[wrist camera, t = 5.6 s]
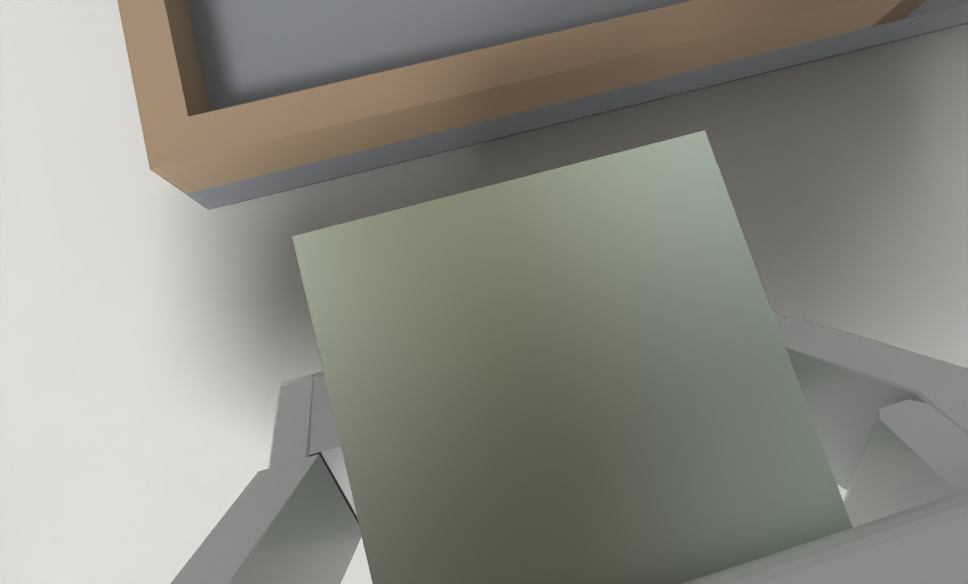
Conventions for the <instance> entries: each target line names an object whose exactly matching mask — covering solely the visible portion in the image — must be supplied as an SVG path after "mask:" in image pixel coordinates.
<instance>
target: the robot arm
mask: <svg viewBox="0 0 968 584" xmlns="http://www.w3.org/2000/svg"><path fill="white" fill-rule="evenodd" d="M771 309H772V308H771ZM772 312H773V315H774V317H775V320H776V323H777V325H778V328H779V331H780V333H781V336H782V339H783V342H784V344H785V347H786V350H787V352H788V355H789V358H790V360H791V363H792V366H793V368H794V371H795V374H796V376H797V379H798V382H799V385H800V387H801V390H802V393H803V395H804V398H805V401H806V403H807V406H808V409H809V411H810V414H811V417H812V419H813V422H814V425H815V428H816V430H817V433H818V436H819V438H820V441H821V444H822V446H823V449H824V452H825V454H826V457H827V460H828V462H829V465H830V468H831V471H832V473H833V476H834V479H835V481H836V484H838V485H840V486H841V487H843V488H845V489H846V490H847V493H846V495H845V498H844V500H843V503H844V505H845V508H846V511H847V514H848V516H849V519H850V522H851V524H852V527H853V528H850V529H847V530H844V531H840V532H837V533H834V534H831V535H828V536H825V537H822V538H819V539H816V540H813V541H810V542H807V543H804V544H801V545H798V546H795V547H792V548H789V549H786V550H783V551H780V552H777V553H773V554H770V555H767V556H764V557H761V558H758V559H755V560H752V561H749V562H746V563H743V564H740V565H737V566H734V567H731V568H728V569H725V570H722V571H719V572H716V573H713V574H710V575H706V576H703V577H700V578H697V579H694V580H691V581H688V582H685V583H682V584H968V369H967V368H964V367H960V366H957V365H954V364H951V363H947V362H944V361H941V360H937V359H934V358H931V357H927V356H924V355H921V354H917V353H914V352H911V351H907V350H904V349H901V348H897V347H894V346H891V345H887V344H884V343H881V342H877V341H874V340H871V339H867V338H864V337H861V336H857V335H854V334H851V333H847V332H844V331H841V330H837V329H834V328H831V327H827V326H824V325H821V324H817V323H814V322H811V321H807V320H804V319H801V318H797V317H794V316H791V317H787V318H784V319H783V318H782V317H781V316H780V315H779V314H777V313H776V312H775V311H774V310H773V309H772ZM361 536H362V535H361V531H360V527H359V522H358V518H357V514H356V509H355V505H354V501H353V496H352V492H351V488H350V484H349V479H348V475H347V471H346V466H345V462H344V458H343V454H342V449H341V445H340V441H339V436H338V432H337V428H336V424H335V419H334V415H333V411H332V406H331V402H330V398H329V393H328V389H327V385H326V381H325V376H324V372H319V373H316V374H314V375H309V376H305V377H301V378H298V379H294V380H290V381H286V382H284V383H283V384H282V386H281V387H280V389H279V393H278V400H277V408H276V415H275V423H274V430H273V438H272V445H271V453H270V460H269V468H268V469H266V470H262V471H259V472H258V473H257V474H256V475H255V476H254V478H253V479H252V480H251V482H250V483H249V484H248V485H247V487H246V488H245V489H244V490H243V492H242V493H241V494H240V496H239V497H238V498H237V499H236V501H235V502H234V503H233V505H232V506H231V507H230V508H229V510H228V511H227V512H226V513H225V515H224V516H223V517H222V519H221V520H220V521H219V522H218V524H217V525H216V526H215V528H214V529H213V530H212V531H211V533H210V534H209V535H208V536H207V538H206V539H205V540H204V542H203V543H202V544H201V545H200V547H199V548H198V549H197V551H196V552H195V553H194V554H193V556H192V557H191V558H190V559H189V561H188V562H187V563H186V565H185V566H184V567H183V568H182V570H181V571H180V572H179V574H178V575H177V576H176V577H175V579H174V580H173V581H172V582H171V584H340V583H341V581H342V579H343V577H344V574H345V572H346V570H347V568H348V565H349V563H350V561H351V559H352V556H353V554H354V552H355V550H356V548H357V545H358V543H359V541H360V539H361Z"/></svg>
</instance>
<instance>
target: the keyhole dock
mask: <svg viewBox="0 0 968 584" xmlns="http://www.w3.org/2000/svg"><path fill="white" fill-rule="evenodd" d="M118 5H119V10H120V16H121V21H122V26H123V31H124V36H125V42H126V47H127V52H128V57H129V62H130V68H131V73H132V78H133V83H134V88H135V94H136V99H137V104H138V109H139V114H140V120H141V125H142V130H143V135H144V140H145V146H146V151H147V156H148V161H149V166H150V170H152V171H153V172H155V173H156V174H158V175H159V176H161V177H162V178H163V179H165V180H166V181H168V182H169V183H171V184H172V185H174V186H175V187H176V188H178V189H179V190H181V191H182V192H184V193H185V194H187V195H188V196H189V197H191V198H192V199H194V200H195V201H197V202H198V203H200V204H201V205H202V206H204V207H205V208H207V209H212V208H216V207H220V206H224V205H229V204H233V203H237V202H241V201H245V200H249V199H253V198H257V197H261V196H265V195H269V194H273V193H277V192H281V191H286V190H290V189H294V188H298V187H302V186H306V185H310V184H314V183H318V182H322V181H326V180H330V179H334V178H338V177H342V176H347V175H351V174H355V173H359V172H363V171H367V170H371V169H375V168H379V167H383V166H387V165H391V164H395V163H399V162H403V161H408V160H412V159H416V158H420V157H424V156H428V155H432V154H436V153H440V152H444V151H448V150H452V149H456V148H460V147H464V146H469V145H473V144H477V143H481V142H485V141H489V140H493V139H497V138H501V137H505V136H509V135H513V134H517V133H521V132H526V131H530V130H534V129H538V128H542V127H546V126H550V125H554V124H558V123H562V122H566V121H570V120H574V119H578V118H582V117H587V116H591V115H595V114H599V113H603V112H607V111H611V110H615V109H619V108H623V107H627V106H631V105H635V104H639V103H643V102H648V101H652V100H656V99H660V98H664V97H668V96H672V95H676V94H680V93H684V92H688V91H692V90H696V89H700V88H704V87H709V86H713V85H717V84H721V83H725V82H729V81H733V80H737V79H741V78H745V77H749V76H753V75H757V74H761V73H765V72H770V71H774V70H778V69H782V68H786V67H790V66H794V65H798V64H802V63H806V62H810V61H814V60H818V59H822V58H827V57H831V56H835V55H839V54H843V53H847V52H851V51H855V50H859V49H863V48H867V47H871V46H875V45H879V44H883V43H888V42H892V41H896V40H900V39H904V38H908V37H912V36H916V35H920V34H924V33H928V32H932V31H936V30H940V29H944V28H949V27H953V26H957V25H961V24H965V23H968V0H118Z"/></svg>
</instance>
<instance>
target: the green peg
mask: <svg viewBox="0 0 968 584" xmlns="http://www.w3.org/2000/svg"><path fill="white" fill-rule="evenodd" d="M292 239H293V243H294V248H295V252H296V256H297V260H298V265H299V269H300V273H301V278H302V282H303V286H304V290H305V295H306V299H307V303H308V308H309V312H310V316H311V321H312V325H313V329H314V333H315V338H316V342H317V346H318V351H319V355H320V359H321V363H322V368H323V372H324V376H325V381H326V385H327V389H328V393H329V398H330V402H331V406H332V411H333V415H334V419H335V424H336V428H337V432H338V436H339V441H340V445H341V449H342V454H343V458H344V462H345V466H346V471H347V475H348V479H349V484H350V488H351V492H352V496H353V501H354V505H355V509H356V514H357V518H358V522H359V527H360V531H361V535H362V539H363V544H364V548H365V552H366V557H367V561H368V565H369V569H370V574H371V578H372V582H373V584H682V583H685V582H688V581H691V580H694V579H697V578H700V577H703V576H706V575H710V574H713V573H716V572H719V571H722V570H725V569H728V568H731V567H734V566H737V565H740V564H743V563H746V562H749V561H752V560H755V559H758V558H761V557H764V556H767V555H770V554H773V553H777V552H780V551H783V550H786V549H789V548H792V547H795V546H798V545H801V544H804V543H807V542H810V541H813V540H816V539H819V538H822V537H825V536H828V535H831V534H834V533H837V532H840V531H844V530H847V529H850V528H853V527H852V524H851V522H850V519H849V516H848V514H847V511H846V508H845V505H844V503H843V500H842V497H841V495H840V492H839V489H838V487H837V484H836V481H835V479H834V476H833V473H832V471H831V468H830V465H829V462H828V460H827V457H826V454H825V452H824V449H823V446H822V444H821V441H820V438H819V436H818V433H817V430H816V428H815V425H814V422H813V419H812V417H811V414H810V411H809V409H808V406H807V403H806V401H805V398H804V395H803V393H802V390H801V387H800V385H799V382H798V379H797V376H796V374H795V371H794V368H793V366H792V363H791V360H790V358H789V355H788V352H787V350H786V347H785V344H784V342H783V339H782V336H781V333H780V331H779V328H778V325H777V323H776V320H775V317H774V315H773V312H772V309H771V307H770V304H769V301H768V299H767V296H766V293H765V290H764V288H763V285H762V282H761V280H760V277H759V274H758V272H757V269H756V266H755V264H754V261H753V258H752V256H751V253H750V250H749V247H748V245H747V242H746V239H745V237H744V234H743V231H742V229H741V226H740V223H739V221H738V218H737V215H736V213H735V210H734V207H733V204H732V202H731V199H730V196H729V194H728V191H727V188H726V186H725V183H724V180H723V178H722V175H721V172H720V170H719V167H718V164H717V161H716V159H715V156H714V153H713V151H712V148H711V145H710V143H709V140H708V137H707V135H706V132H705V130H704V131H700V132H696V133H692V134H688V135H684V136H680V137H676V138H672V139H669V140H665V141H661V142H657V143H653V144H649V145H645V146H641V147H637V148H634V149H630V150H626V151H622V152H618V153H614V154H610V155H606V156H602V157H599V158H595V159H591V160H587V161H583V162H579V163H575V164H571V165H567V166H563V167H560V168H556V169H552V170H548V171H544V172H540V173H536V174H532V175H528V176H525V177H521V178H517V179H513V180H509V181H505V182H501V183H497V184H493V185H490V186H486V187H482V188H478V189H474V190H470V191H466V192H462V193H458V194H455V195H451V196H447V197H443V198H439V199H435V200H431V201H427V202H423V203H420V204H416V205H412V206H408V207H404V208H400V209H396V210H392V211H388V212H385V213H381V214H377V215H373V216H369V217H365V218H361V219H357V220H353V221H349V222H346V223H342V224H338V225H334V226H330V227H326V228H322V229H318V230H314V231H311V232H307V233H303V234H299V235H295V236H292Z"/></svg>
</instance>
